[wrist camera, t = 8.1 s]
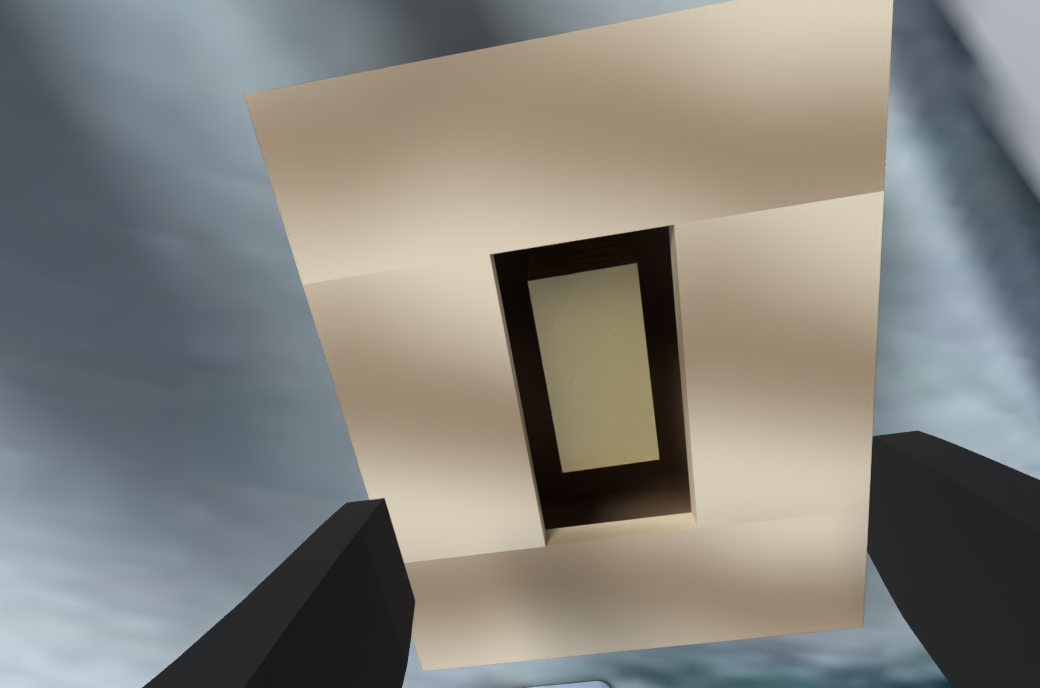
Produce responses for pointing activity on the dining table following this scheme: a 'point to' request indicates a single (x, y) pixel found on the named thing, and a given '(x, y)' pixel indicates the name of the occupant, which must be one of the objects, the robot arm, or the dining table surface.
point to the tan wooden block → (594, 351)
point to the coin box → (665, 304)
